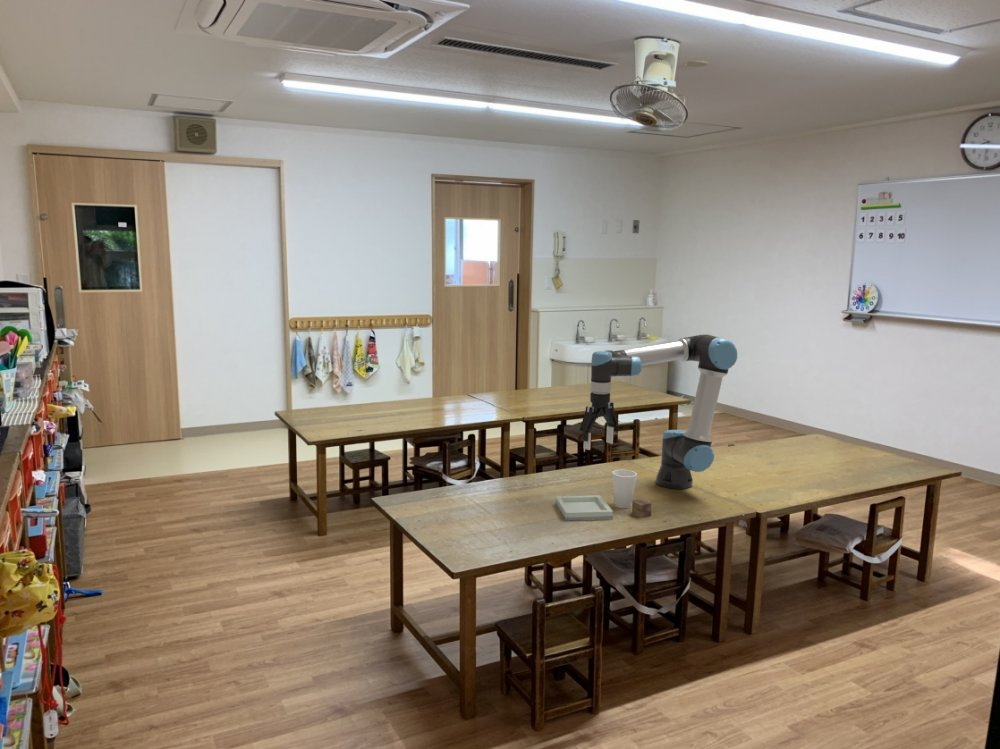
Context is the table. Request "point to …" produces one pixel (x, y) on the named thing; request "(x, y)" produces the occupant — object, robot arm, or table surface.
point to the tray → (583, 508)
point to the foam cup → (623, 487)
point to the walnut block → (641, 508)
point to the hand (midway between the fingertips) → (598, 446)
